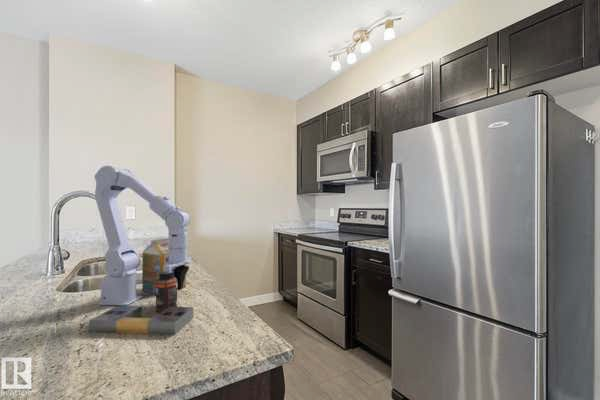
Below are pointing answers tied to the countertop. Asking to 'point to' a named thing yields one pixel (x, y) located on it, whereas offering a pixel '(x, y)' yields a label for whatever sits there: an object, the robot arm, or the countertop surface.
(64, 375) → the countertop surface
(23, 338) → the countertop surface
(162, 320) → the grey flat block
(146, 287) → the food carton
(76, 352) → the countertop surface
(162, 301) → the supplement bottle
